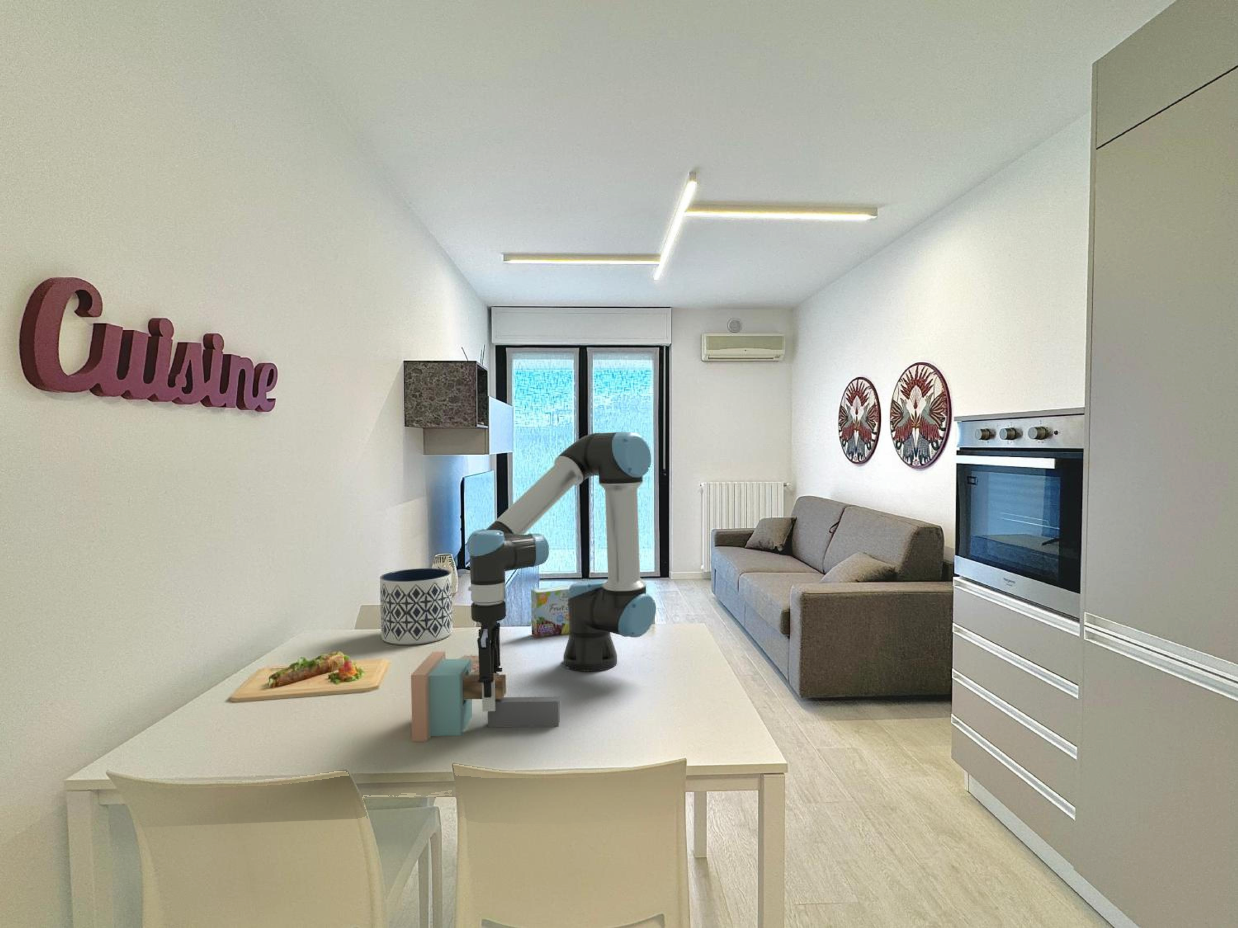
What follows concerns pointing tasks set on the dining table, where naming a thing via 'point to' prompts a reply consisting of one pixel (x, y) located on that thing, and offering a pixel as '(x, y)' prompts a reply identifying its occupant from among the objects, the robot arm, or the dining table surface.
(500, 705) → the rail
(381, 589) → the planter
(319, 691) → the cutting board
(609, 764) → the dining table surface
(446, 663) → the block
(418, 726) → the base
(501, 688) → the bar
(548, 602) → the snack box
